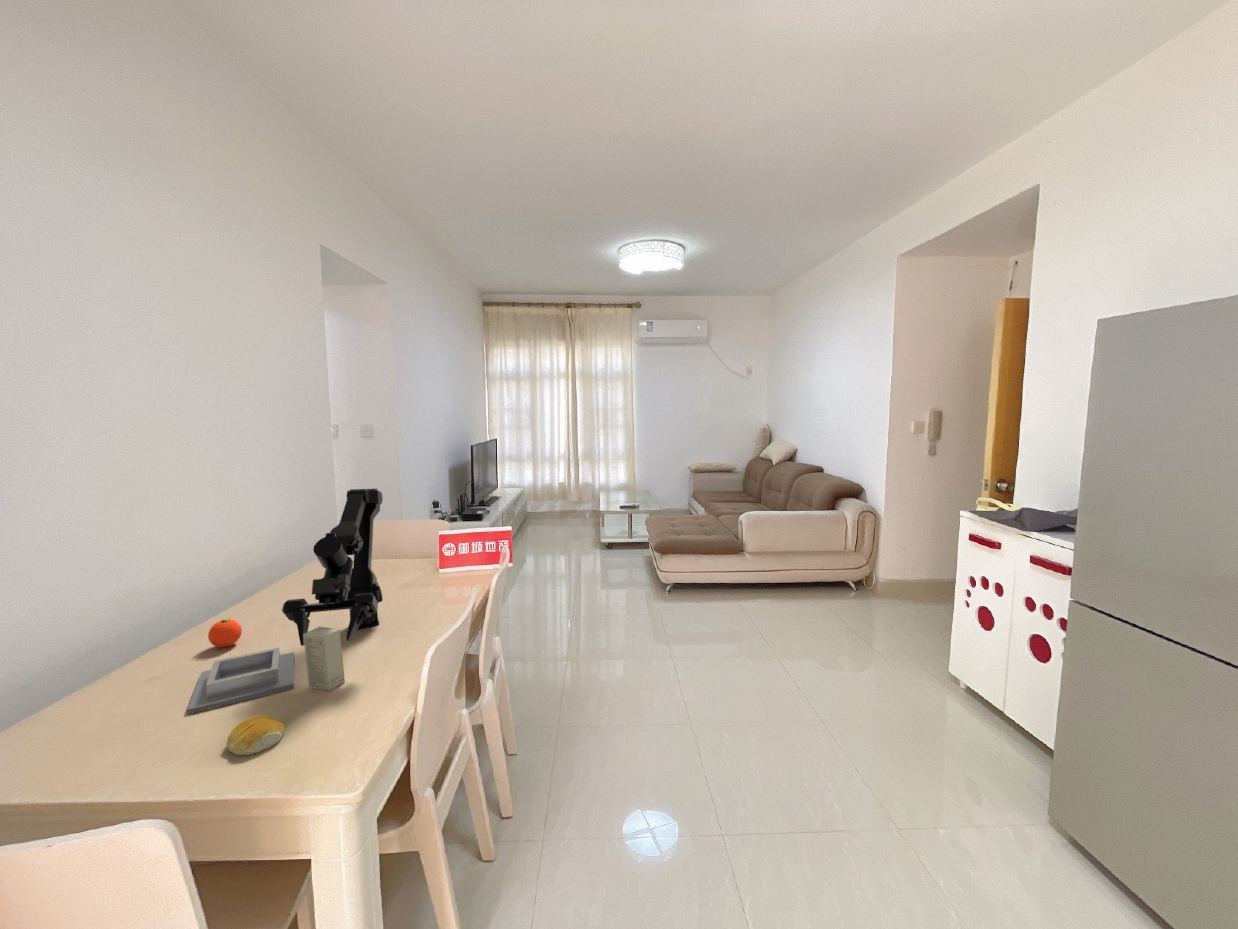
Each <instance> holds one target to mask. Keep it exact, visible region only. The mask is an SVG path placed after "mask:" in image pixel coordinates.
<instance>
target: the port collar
mask: <svg viewBox="0 0 1238 929" xmlns="http://www.w3.org/2000/svg"><path fill="white" fill-rule="evenodd" d="M280 655H281V650H280V647H276V648H275V647H274V648H270V649H266V650H265V649H264V650H261V651H256V652H250V653H247V654H246V653H245V654H241V655H236V656H231V657H228V658H222V659H218V660H214V661H213V663H212V667H211V668H210V670H211V672H210V675H209V678H208V680H207V683H206V691H207V699H209V698H213V697H218V696H222V695H226V694H230V693H234V692H239V691H243V690H247V689H251V688H255V687H260V686H264V685H268V684H272V683H276V682H279V673H280ZM271 663H272V667H271V668H269V669H265V670H261V671H256V672H252V673H247V674H243V675H238V676H234V677H229V678H225V679H221V680H220V677H221V674H226V673H230V672H235V671H239V670H244V669H248V668H253V667H257V666H262V665H266V664H271Z"/></svg>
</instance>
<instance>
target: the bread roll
mask: <svg viewBox="0 0 1238 929" xmlns="http://www.w3.org/2000/svg"><path fill="white" fill-rule="evenodd" d="M284 733H285V726H284V724H283V723H282V722H281V721H278V720H275V718H274V717H272V716H268V715H262V714H261V715H255V716H254V715H253V716H252V717H248V718H247V719H244V720H242V721H241V722H239V723H238V724H237V725H236V726H235V727H234V728H233V729H232V730H231V732H230V734H228V737H227V740H226V749H227V750H228V752H231V753H233V755H237V756H242V755H244V756H250V754H252V755H255V754H254V753H256V754H258V753H260V751H261V752H262V750H263V751H265V750H267V748H268V749H269V748H271V747H273V746H275V745H276V744H277V743H279V742H280V741H281V739H282V737H283V735H284ZM264 749H265V750H264Z"/></svg>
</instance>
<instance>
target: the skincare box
mask: <svg viewBox="0 0 1238 929" xmlns="http://www.w3.org/2000/svg"><path fill="white" fill-rule="evenodd" d="M303 639H304V646H303V648H304V653H305V654H304V655H305V664H306V672H307V681H308V682H307V683H308V687H309V688H312V689H318V690H322V691H323V690H324V691H329V692H330V691H331V690H333V689H334V688H336V687H338V686H339V685H341V684H342V683H344V682H346V680H345V670H344V660H343V652H342V651H343V650H342V641H341V640H342V639H341V630H340V628H335V627H324V626H317V627H316V628H314V629H311V630H308V632H307V633H305V634H303Z"/></svg>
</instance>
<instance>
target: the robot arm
mask: <svg viewBox="0 0 1238 929" xmlns="http://www.w3.org/2000/svg"><path fill="white" fill-rule="evenodd" d="M383 498H384V497H383V493H382V491H379V490H378V488H354V489H353V488H352V489H350V490H349V489H348V490H347V491H346V502H345V504H344V508H343V511H342V514H341V517H340V521H339V523H338V525H336V526H335V527H332V529H331V530H330V532H327V533H325V537H322V538H320V539H319V540H318V541H317V542H315V544H314V545H313V553H314V554H315V556H316V558H317V561H318V562H319V564H320V565H321V567H322V568H324V574H323V577H322V578H317V579H313V580H312V583H311V584H312V586H311V595H314V599H315V600H316V601H318V602H315V603H308V602H307V600H306V599H305V598H295V599H294V598H293V599H287V600H286V601H285V602H284V603H283V604H282V608H281V612H282V613H283V614H284V615H285V617H286V618H287V619H288V620H289V621H290V622H291V621H292V622H293V623H294V624H295V625H296V626H297V632H298V640H299V644H300V645H301V646H302V647H304V639H303V634H305V633H307V632H309V628H310V623H311V621H310V619H309V617H310V616H311V613H319V612H331V611H342V610H343V611H344V610H349V624H348V627H347V631H346V632H347V633H346V641H347V642H350V640H351V639H352V638H353V637H354V635H355V633H356V632H357V630H358V629H363V628H368V627H373V626H378V625H380V621H379V616H378V606H379V603H382V602H383V592H382V591H383V590H382V589H381V587H380V584H379V582H378V578H377V576H376V574H375V573H374V572H373V570H372V560H373V559H372V558H373V538H374V519H375V518H376V516H377V515H378V514H379V513H380V511H381V505H382V503H383ZM350 556H353V559H352V558H351V557H350Z"/></svg>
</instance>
